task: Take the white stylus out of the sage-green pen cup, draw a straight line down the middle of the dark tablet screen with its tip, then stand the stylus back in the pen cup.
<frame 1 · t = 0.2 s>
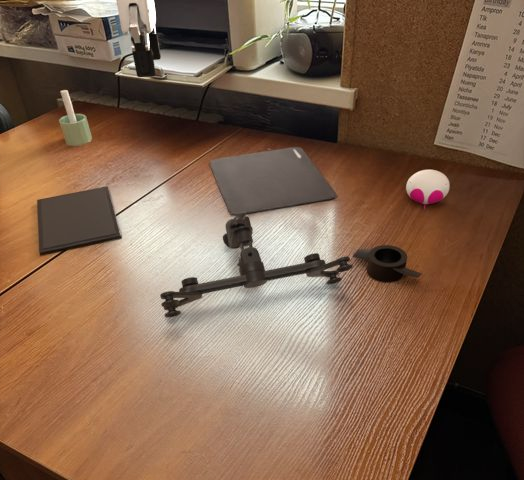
hand: (149, 67, 90), 21 cm above the table, tool pointing down, fingers open, 9 cm apart
tablet mount: (245, 278, 80), on the table
stylus: (78, 140, 121), resting on pen cup
black winged ring: (385, 272, 79), on the table
mouse pad: (269, 179, 103), on the table
pen cup: (79, 142, 121), on the table
stress ball: (424, 204, 93), on the table
tablet: (77, 219, 95), on the table
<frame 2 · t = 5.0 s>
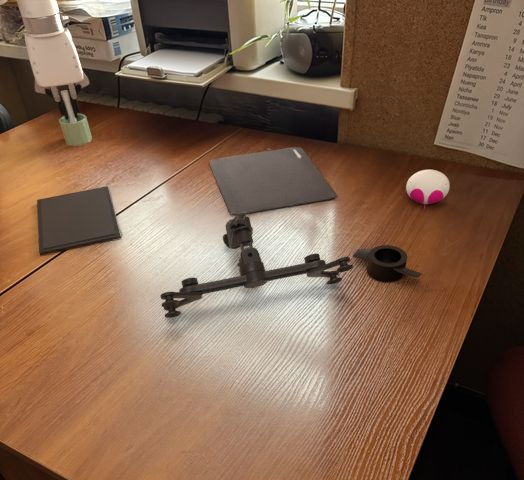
hand: (71, 116, 117), 6 cm above the table, tool pointing down, fingers closed on stylus, 1 cm apart
stylus: (78, 140, 121), resting on pen cup, touching gripper
everything else where it was.
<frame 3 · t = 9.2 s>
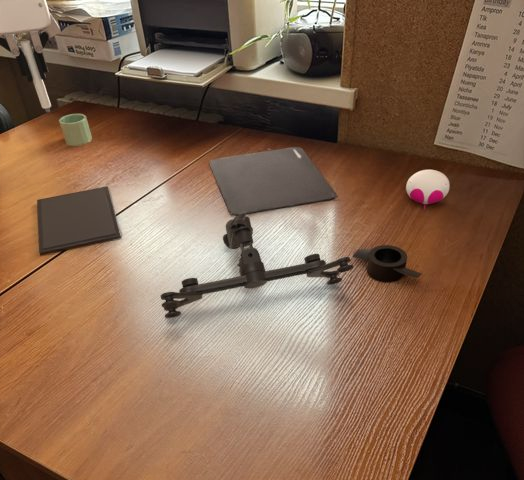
hand: (37, 78, 86), 22 cm above the table, tool pointing down, fingers closed on stylus, 1 cm apart
stylus: (48, 111, 90), point 16 cm above the table, touching gripper
everything else where it was.
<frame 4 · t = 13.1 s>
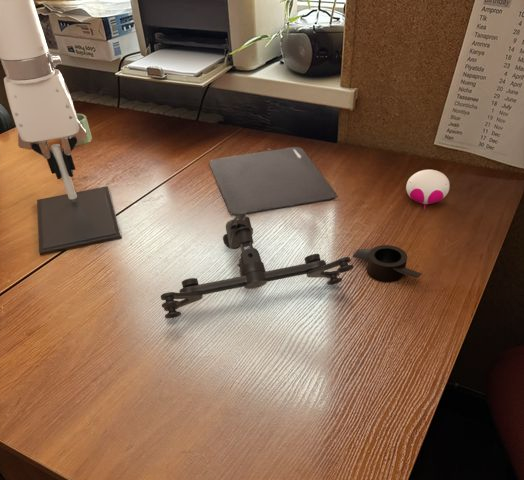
hand: (65, 174, 94), 6 cm above the table, tool pointing down, fingers closed on stylus, 1 cm apart
stylus: (74, 201, 98), point 1 cm above the table, touching gripper, tablet
everything else where it was.
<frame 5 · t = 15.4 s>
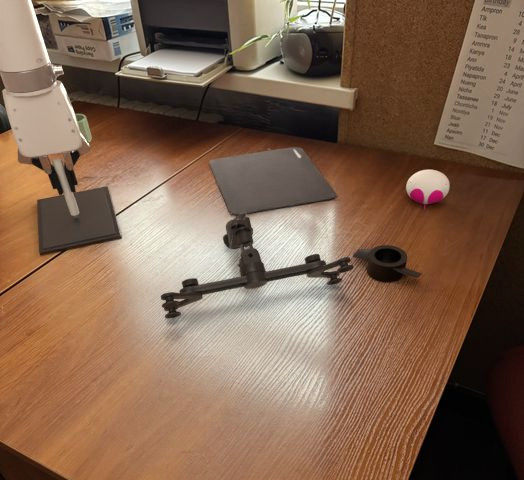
hand: (67, 189, 90), 6 cm above the table, tool pointing down, fingers closed on stylus, 1 cm apart
stylus: (76, 217, 94), point 1 cm above the table, touching gripper
everything else where it was.
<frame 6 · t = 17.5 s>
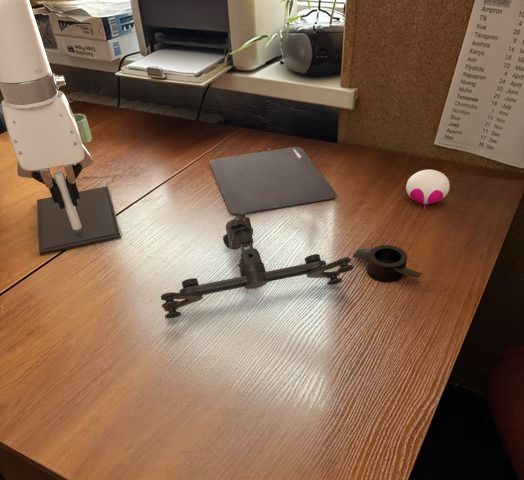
hand: (68, 203, 86), 6 cm above the table, tool pointing down, fingers closed on stylus, 1 cm apart
stylus: (78, 231, 90), point 1 cm above the table, touching gripper
everything else where it was.
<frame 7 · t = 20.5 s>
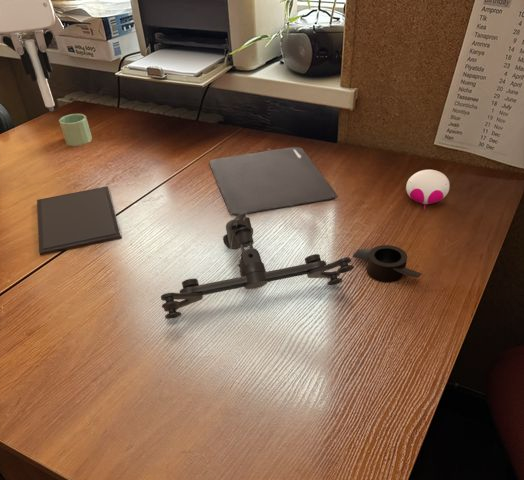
hand: (40, 76, 86), 22 cm above the table, tool pointing down, fingers closed on stylus, 1 cm apart
stylus: (51, 110, 90), point 16 cm above the table, touching gripper
everything else where it was.
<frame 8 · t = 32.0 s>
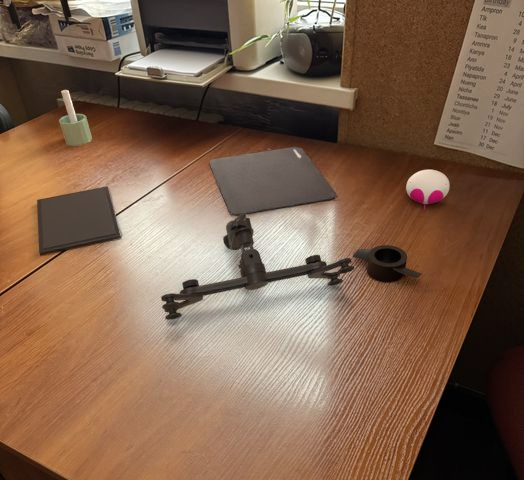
hand: (44, 24, 104), 24 cm above the table, tool pointing down, fingers open, 9 cm apart
stylus: (79, 140, 121), resting on pen cup
everything else where it was.
at the end: stylus 0.1 cm off-centre in the pen cup, point 0.5 cm above the pen cup's base; stylus tilted 0°; stylus touching pen cup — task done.
